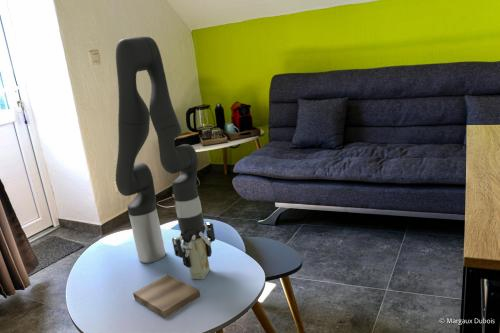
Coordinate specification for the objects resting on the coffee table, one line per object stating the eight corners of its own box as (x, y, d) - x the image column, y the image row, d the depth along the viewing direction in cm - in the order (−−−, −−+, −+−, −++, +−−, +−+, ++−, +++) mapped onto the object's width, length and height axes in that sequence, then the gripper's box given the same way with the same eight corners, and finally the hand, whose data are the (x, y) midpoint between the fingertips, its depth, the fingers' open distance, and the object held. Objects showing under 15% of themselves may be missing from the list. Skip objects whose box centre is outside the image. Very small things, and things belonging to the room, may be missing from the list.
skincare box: (204, 279, 130) (197, 242, 127) (191, 279, 131) (183, 243, 128) (210, 268, 136) (204, 233, 133) (197, 268, 137) (191, 233, 134)
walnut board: (134, 298, 125) (132, 292, 124) (168, 280, 133) (167, 274, 132) (164, 318, 114) (163, 311, 113) (200, 296, 121) (199, 290, 121)
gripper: (200, 201, 135) (208, 249, 140) (162, 218, 126) (172, 268, 130) (215, 205, 130) (223, 254, 134) (176, 222, 121) (186, 275, 125)
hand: (198, 261), depth 132 cm, fingers closed on skincare box, 7 cm apart
